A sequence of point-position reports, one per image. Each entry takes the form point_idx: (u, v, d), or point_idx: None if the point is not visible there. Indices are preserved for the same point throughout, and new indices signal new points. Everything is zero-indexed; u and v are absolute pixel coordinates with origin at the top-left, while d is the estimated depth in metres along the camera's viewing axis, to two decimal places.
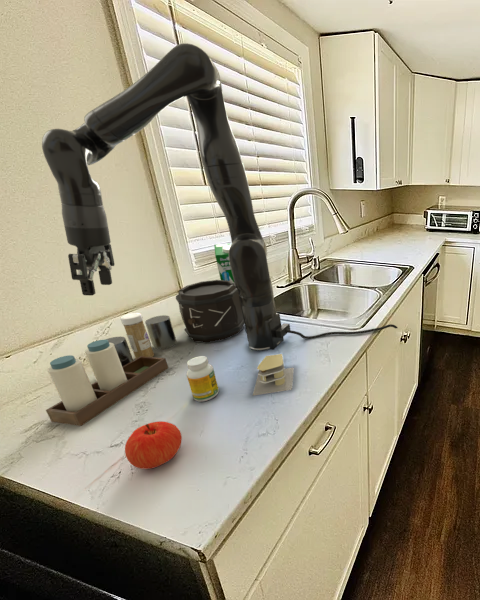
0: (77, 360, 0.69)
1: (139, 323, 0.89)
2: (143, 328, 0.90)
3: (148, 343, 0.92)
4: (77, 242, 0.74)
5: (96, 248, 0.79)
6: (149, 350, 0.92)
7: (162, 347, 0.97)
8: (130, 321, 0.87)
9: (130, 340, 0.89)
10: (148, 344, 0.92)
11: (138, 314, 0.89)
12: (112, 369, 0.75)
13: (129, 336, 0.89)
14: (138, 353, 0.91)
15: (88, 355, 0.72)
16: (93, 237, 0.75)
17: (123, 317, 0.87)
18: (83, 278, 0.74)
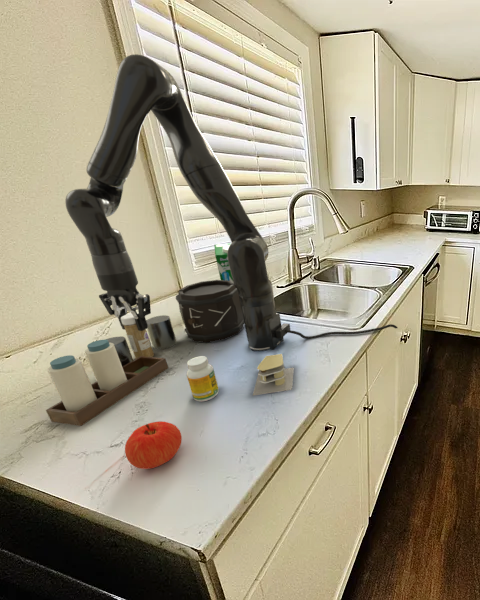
0: (77, 360, 0.69)
1: None
2: None
3: (148, 343, 0.92)
4: (129, 284, 0.84)
5: None
6: (149, 350, 0.92)
7: (162, 347, 0.97)
8: (130, 321, 0.87)
9: (130, 340, 0.89)
10: (148, 344, 0.92)
11: None
12: (112, 369, 0.75)
13: (129, 336, 0.89)
14: (138, 353, 0.91)
15: (88, 355, 0.72)
16: (135, 276, 0.86)
17: (123, 317, 0.87)
18: (148, 312, 0.88)
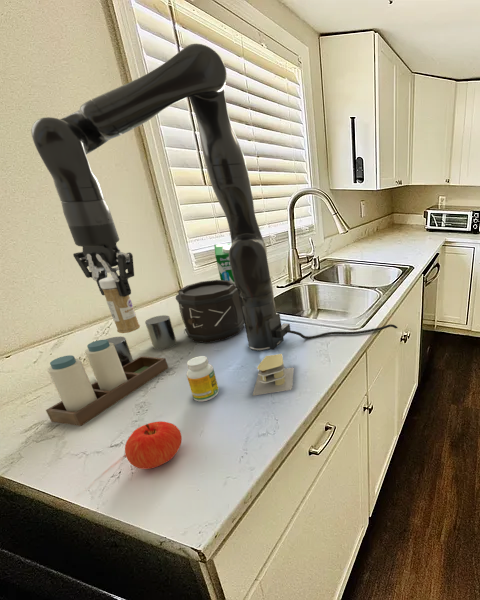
0: (77, 360, 0.69)
1: None
2: None
3: (132, 312, 0.79)
4: (108, 239, 0.72)
5: None
6: (133, 320, 0.80)
7: (162, 347, 0.97)
8: (110, 284, 0.74)
9: (110, 307, 0.76)
10: (132, 313, 0.79)
11: None
12: (112, 369, 0.75)
13: (109, 302, 0.76)
14: (120, 323, 0.78)
15: (88, 355, 0.72)
16: (116, 231, 0.74)
17: (102, 280, 0.75)
18: (131, 275, 0.75)
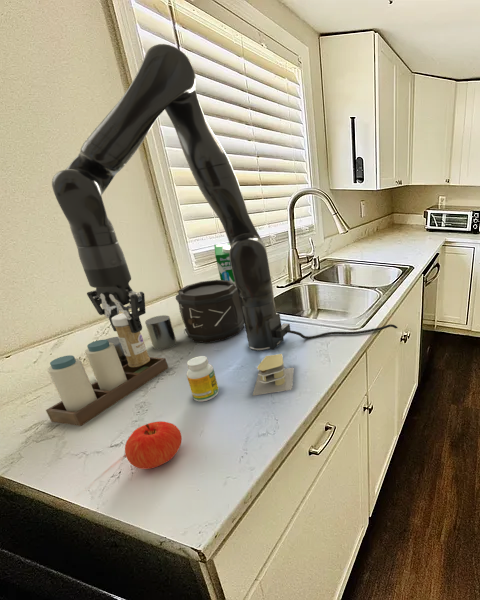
0: (77, 360, 0.69)
1: None
2: None
3: (143, 347, 0.82)
4: (121, 280, 0.74)
5: None
6: (143, 354, 0.82)
7: (162, 347, 0.97)
8: (122, 322, 0.77)
9: (122, 343, 0.79)
10: (142, 348, 0.82)
11: None
12: (112, 369, 0.75)
13: (121, 339, 0.79)
14: (131, 358, 0.81)
15: (88, 355, 0.72)
16: (128, 271, 0.76)
17: (114, 317, 0.77)
18: (143, 312, 0.78)
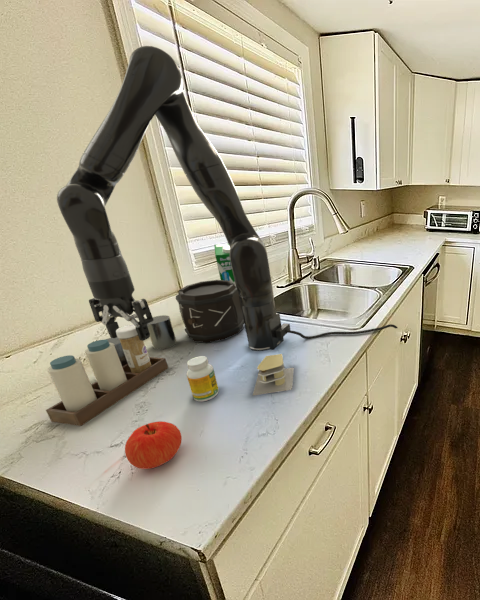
0: (77, 360, 0.69)
1: (136, 336, 0.80)
2: (141, 341, 0.82)
3: (146, 358, 0.83)
4: (125, 291, 0.75)
5: None
6: (147, 365, 0.83)
7: (162, 347, 0.97)
8: (126, 334, 0.78)
9: (126, 355, 0.80)
10: (146, 359, 0.83)
11: None
12: (112, 369, 0.75)
13: (125, 351, 0.80)
14: (135, 369, 0.82)
15: (88, 355, 0.72)
16: (131, 282, 0.77)
17: (119, 330, 0.79)
18: (151, 320, 0.78)
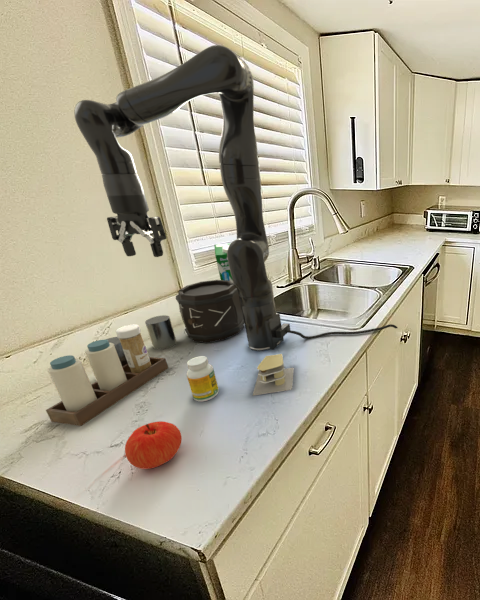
0: (77, 360, 0.69)
1: (136, 336, 0.80)
2: (141, 341, 0.82)
3: (146, 358, 0.83)
4: (141, 208, 0.82)
5: None
6: (147, 365, 0.83)
7: (162, 347, 0.97)
8: (126, 334, 0.78)
9: (126, 355, 0.80)
10: (146, 359, 0.83)
11: (135, 326, 0.80)
12: (112, 369, 0.75)
13: (125, 351, 0.80)
14: (135, 369, 0.82)
15: (88, 355, 0.72)
16: (146, 202, 0.85)
17: (119, 330, 0.79)
18: (164, 237, 0.86)
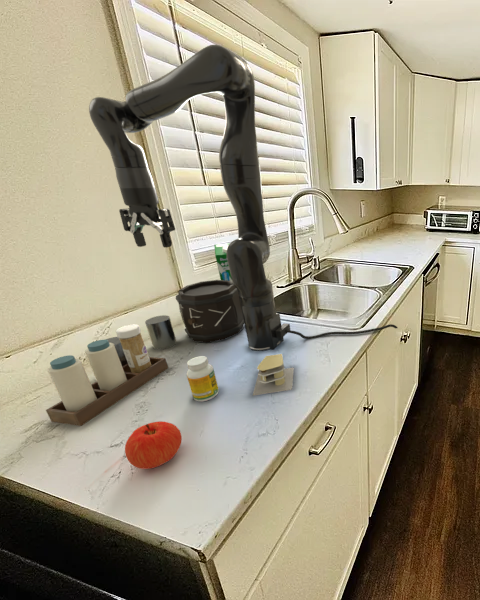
0: (77, 360, 0.69)
1: (136, 336, 0.80)
2: (141, 341, 0.82)
3: (146, 358, 0.83)
4: (151, 200, 0.87)
5: None
6: (147, 365, 0.83)
7: (162, 347, 0.97)
8: (126, 334, 0.78)
9: (126, 355, 0.80)
10: (146, 359, 0.83)
11: (135, 326, 0.80)
12: (112, 369, 0.75)
13: (125, 351, 0.80)
14: (135, 369, 0.82)
15: (88, 355, 0.72)
16: (156, 195, 0.89)
17: (119, 330, 0.79)
18: (173, 229, 0.90)
